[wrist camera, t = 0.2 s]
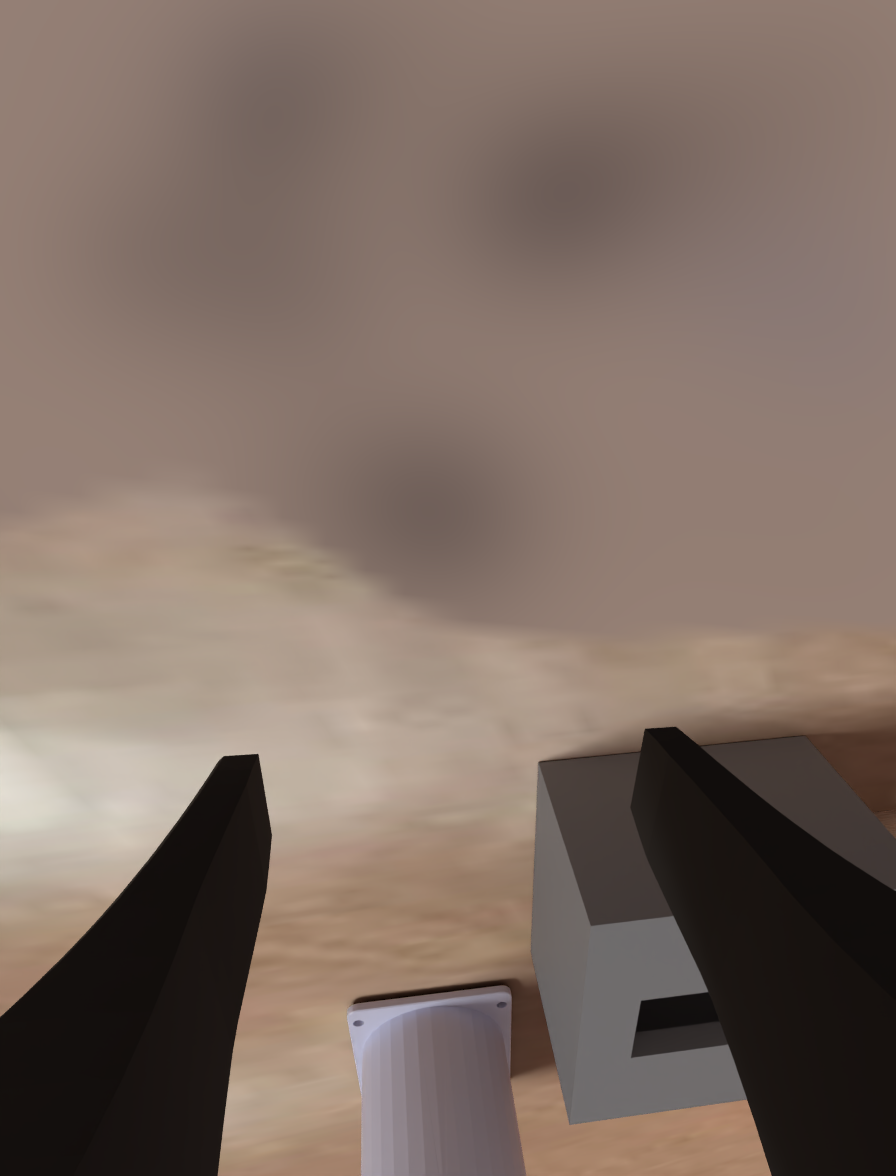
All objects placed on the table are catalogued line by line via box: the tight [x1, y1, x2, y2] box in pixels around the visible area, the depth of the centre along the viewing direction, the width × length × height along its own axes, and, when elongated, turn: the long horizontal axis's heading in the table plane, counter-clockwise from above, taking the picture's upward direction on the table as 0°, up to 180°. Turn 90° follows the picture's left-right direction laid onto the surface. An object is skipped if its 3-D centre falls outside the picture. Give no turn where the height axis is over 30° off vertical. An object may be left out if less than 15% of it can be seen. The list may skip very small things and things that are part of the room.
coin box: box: [531, 736, 896, 1125], centre depth 26 cm, size 12×11×7 cm
